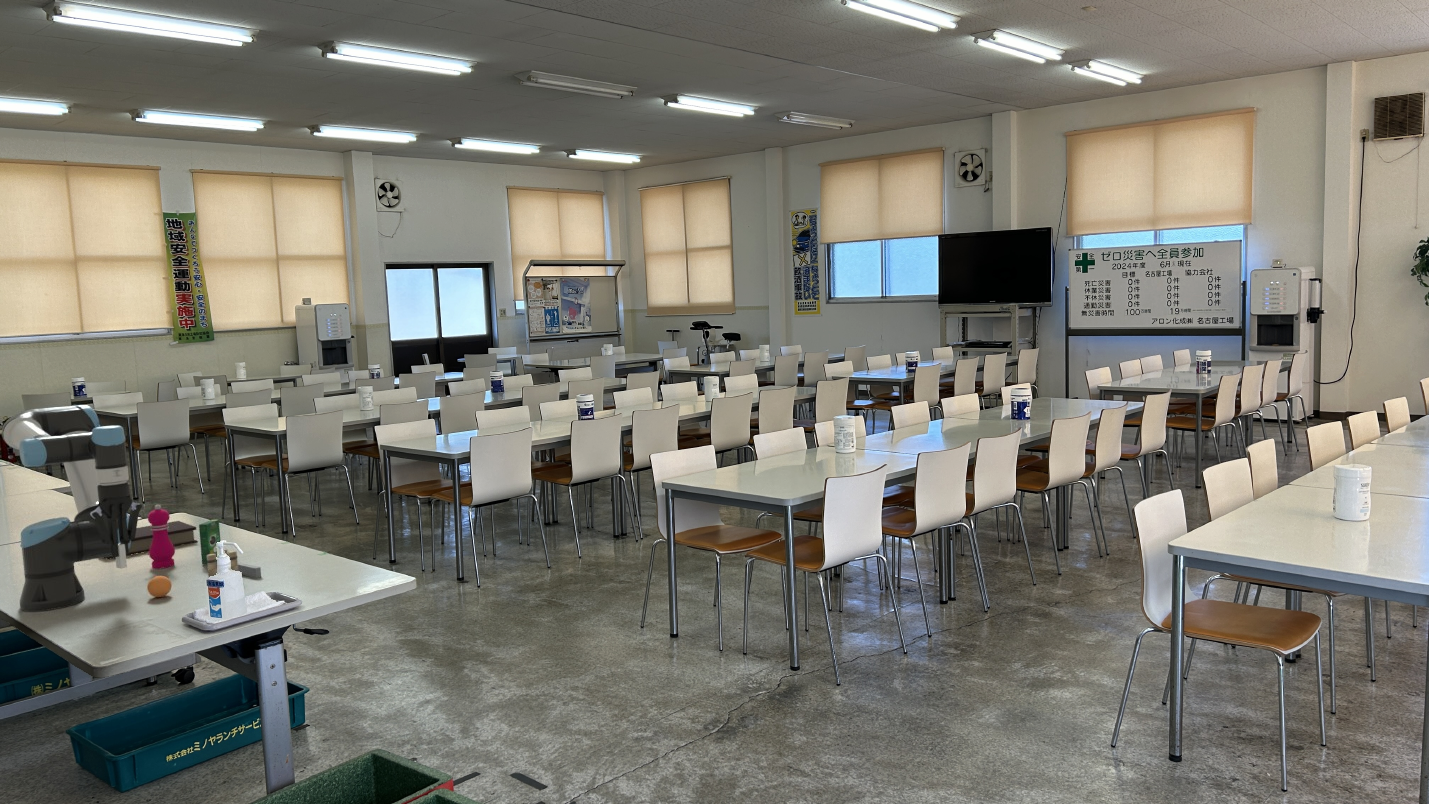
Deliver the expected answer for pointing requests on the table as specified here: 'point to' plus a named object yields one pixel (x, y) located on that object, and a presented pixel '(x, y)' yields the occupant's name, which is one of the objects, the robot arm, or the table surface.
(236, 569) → the pin
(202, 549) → the coffee box
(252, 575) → the back wall
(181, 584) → the table surface
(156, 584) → the ball
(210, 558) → the front pin
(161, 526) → the pepper mill
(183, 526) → the book
